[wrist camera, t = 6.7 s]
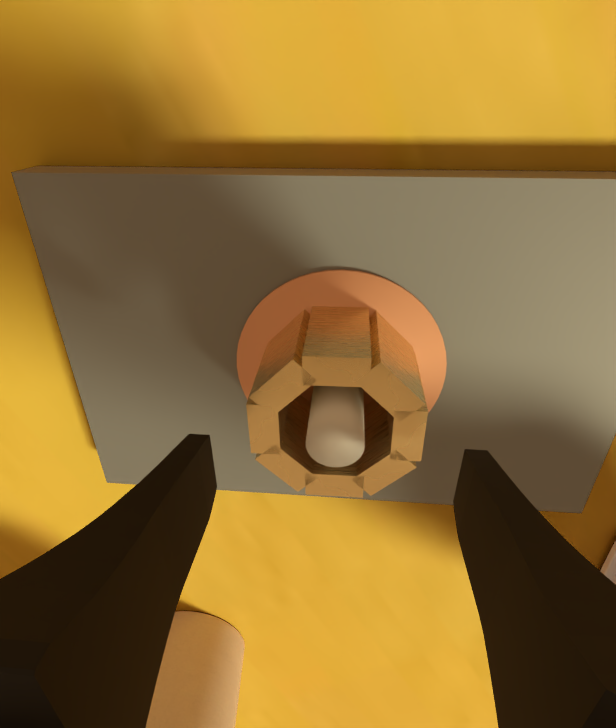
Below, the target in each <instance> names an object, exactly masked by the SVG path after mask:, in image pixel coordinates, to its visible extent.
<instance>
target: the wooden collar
mask: <svg viewBox="0 0 616 728" xmlns="http://www.w3.org/2000/svg"><path fill="white" fill-rule="evenodd" d="M311 385H313V386H341V387H361V388H362V389H364V390H365V391H366V392H367V393H368V394H369V395H370V396H371V397H372V398H374V400H373V401H371V402H370V403H368V404H367V405H366V406H364V436H365V448H364V452H363V454H362V456H361V457H360V458H359V459H358V460H357V461H356V462H354V463H353V464H351V465H348V466H344V467H329V466H325V465H322V464H320V463H318V462H317V461H315V460H314V459H313V458H312V457H311V456H310V455H309V453H308V451H307V449H306V436H307V429H308V422H309V415H310V408H311V403H310V402H309V401H307V400H306V399H305V398H304V397H303V396H302V395H300V394H301V393H303V392H304V391H305V390H306V389H307V388H309V387H310V386H311ZM246 409H247V418H248V428H249V438H250V448H251V453H257V454H256V458H255V460H256V461H258V462H259V463H260V464H262V465H263V466H264V467H266V468H267V469H268V470H270V471H271V472H272V473H274V474H275V475H276V476H278V477H279V478H280V479H281V480H283V481H284V482H285V483H287V484H288V485H289V486H291V487H292V488H293V489H295V490H296V491H297V492H298V491H300V490H301V489H303V488H304V487H305V493H306V495H322V496H340V497H357V498H363V490H364V491H365V492H367V493H368V494H369V495H370V496H371V495H373V494H375V493H376V492H378V491H380V490H381V489H383V488H384V487H386V486H388V485H389V484H391V483H392V482H394V481H396V480H397V479H399V478H400V477H402V476H404V475H405V474H407V473H409V472H410V471H412V470H413V469H415V468H417V467H416V461H421V458H422V451H423V444H424V437H425V430H426V423H427V416H428V409H427V404H426V400H425V395H424V391H423V386H422V382H421V377H420V373H419V368H418V364H417V359H416V354H415V353H414V350H413V346H412V345H411V344H410V343H408V342H407V341H406V340H405V339H404V338H403V337H402V336H401V335H400V334H399V333H398V332H397V331H396V330H395V329H394V328H393V327H392V326H391V325H390V324H389V323H388V322H387V321H386V320H385V319H384V318H383V317H382V316H381V315H380V314H379V313H378V312H377V311H375V312H374V313H373V314H372V315H370V316H369V307H327V306H312V309H311V314H309V313H308V312H307V311H306V310H305V309H304V310H303V311H302V312H301V313H300V314H299V315H297V316H296V317H295V318H294V319H293V320H292V321H291V322H290V323H289V324H288V325H287V326H285V327H284V328H283V329H282V330H281V331H280V332H279V333H278V334H277V335H276V336H275V337H274V338H272V339H271V340H270V341H269V342H268V344H267V347H266V349H265V351H264V354H263V357H262V360H261V363H260V366H259V369H258V372H257V374H256V377H255V380H254V383H253V386H252V389H251V392H250V395H249V397H248V400H247V403H246Z"/></svg>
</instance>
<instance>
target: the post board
mask: <svg viewBox="0 0 616 728" xmlns="http://www.w3.org/2000/svg"><path fill="white" fill-rule="evenodd" d="M11 173H12V176H13V179H14V182H15V186H16V189H17V192H18V195H19V199H20V202H21V205H22V208H23V212H24V215H25V218H26V221H27V225H28V228H29V231H30V234H31V238H32V241H33V244H34V247H35V251H36V254H37V257H38V260H39V264H40V267H41V270H42V273H43V277H44V280H45V283H46V286H47V290H48V293H49V296H50V299H51V303H52V306H53V309H54V312H55V315H56V319H57V322H58V325H59V328H60V332H61V335H62V338H63V341H64V345H65V348H66V351H67V354H68V358H69V361H70V364H71V367H72V371H73V374H74V377H75V380H76V384H77V387H78V390H79V393H80V397H81V400H82V403H83V406H84V410H85V413H86V416H87V419H88V423H89V426H90V429H91V432H92V436H93V439H94V442H95V445H96V449H97V452H98V455H99V458H100V461H101V465H102V468H103V471H104V474H105V478H106V481H107V483H122V484H138V483H139V482H140V481H141V480H142V479H143V478H144V477H145V476H146V475H148V474H149V473H150V472H151V471H152V470H153V469H154V468H155V467H156V466H157V465H158V464H159V463H160V462H161V461H162V460H163V459H164V458H165V457H166V456H167V455H168V454H169V453H170V452H171V451H172V450H173V449H174V448H175V447H176V446H177V445H178V444H179V443H180V442H181V441H182V440H183V439H184V438H185V437H186V436H187V435H188V434H205V435H210V440H211V447H212V454H213V461H214V468H215V475H216V482H217V489H216V490H230V491H245V492H261V493H276V494H291V495H306V493H305V487H304V488H303V489H301V490H300V491H298V492H297V491H296V490H295V489H293V488H292V487H291V486H289V485H288V484H287V483H285V482H284V481H283V480H281V479H280V478H279V477H278V476H276V475H275V474H274V473H272V472H271V471H270V470H268V469H267V468H266V467H264V466H263V465H262V464H260V463H259V462H258V461H256V460H255V458H256V454H257V453H251V448H250V438H249V428H248V418H247V409H246V403H247V400H248V397H249V395H250V392H251V389H252V386H253V383H254V380H255V377H256V374H257V372H258V369H259V366H260V363H261V360H262V357H263V354H264V351H265V349H266V347H267V344H268V342H269V341H270V340H271V339H272V338H274V337H275V336H276V335H277V334H278V333H279V332H280V331H281V330H282V329H283V328H284V327H285V326H287V325H288V324H289V323H290V322H291V321H292V320H293V319H294V318H295V317H296V316H297V315H299V314H300V313H301V312H302V311H303V310H304V309H305V310H306V311H307V312H308V313H309V314H311V309H312V306H327V307H369V316H370V315H372V314H373V313H374V312H375V311H377V312H378V313H379V314H380V315H381V316H382V317H383V318H384V319H385V320H386V321H387V322H388V323H389V324H390V325H391V326H392V327H393V328H394V329H395V330H396V331H397V332H398V333H399V334H400V335H401V336H402V337H403V338H404V339H405V340H406V341H407V342H408V343H410V344H411V345H412V346H413V350H414V353H415V354H416V359H417V364H418V368H419V373H420V377H421V382H422V386H423V391H424V395H425V400H426V404H427V409H428V416H427V423H426V430H425V437H424V444H423V451H422V458H421V461H416V467H417V468H415V469H413V470H412V471H410V472H409V473H407V474H405V475H404V476H402V477H400V478H399V479H397V480H396V481H394V482H392V483H391V484H389V485H388V486H386V487H384V488H383V489H381V490H380V491H378V492H376V493H375V494H373V495H371V496H370V495H369V494H368V493H367V492H365V491H364V490H363V498H357V497H340V496H322V495H307V496H322V497H338V498H353V499H368V500H384V501H399V502H415V503H430V504H445V505H453V499H454V495H455V490H456V486H457V481H458V477H459V472H460V468H461V463H462V459H463V454H464V450H465V449H474V450H488V452H489V453H490V454H491V455H492V456H493V458H494V459H495V460H496V461H497V462H498V464H499V465H500V466H501V467H502V469H503V470H504V471H505V472H506V474H507V475H508V476H509V477H510V479H511V480H512V481H513V482H514V483H515V485H516V486H517V487H518V488H519V489H520V491H521V492H522V493H523V494H524V495H525V496H526V498H527V499H528V500H529V501H530V502H531V503H532V504H533V506H534V507H535V508H536V509H537V510H538V511H553V512H568V513H582V511H583V509H584V506H585V504H586V502H587V499H588V497H589V495H590V492H591V490H592V488H593V485H594V483H595V481H596V478H597V476H598V474H599V471H600V469H601V467H602V464H603V462H604V460H605V457H606V455H607V453H608V450H609V448H610V446H611V443H612V441H613V439H614V436H615V434H616V171H516V170H415V169H314V168H212V167H111V166H35V167H31V168H27V169H23V170H19V171H15V172H11ZM300 395H302V396H303V397H304V398H305V399H306V400H307V401H309V402H310V403H311V408H310V415H309V422H308V429H307V436H306V449H307V451H308V453H309V455H310V456H311V457H312V458H313V459H314V460H315V461H317V462H318V463H320V464H322V465H325V466H329V467H344V466H348V465H351V464H353V463H354V462H356V461H357V460H358V459H359V458H360V457H361V456H362V454H363V452H364V448H365V436H364V406H366V405H367V404H368V403H370V402H371V401H373V400H374V398H372V397H371V396H370V395H369V394H368V393H367V392H366V391H365V390H364V389H362V388H361V387H341V386H313V385H311V386H310V387H309V388H307V389H306V390H305V391H304V392H303V393H301V394H300Z"/></svg>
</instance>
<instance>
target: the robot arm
mask: <svg viewBox="0 0 616 728" xmlns="http://www.w3.org/2000/svg"><path fill="white" fill-rule="evenodd" d="M216 489H217V482H216V475H215V468H214V461H213V454H212V447H211V440H210V435H205V434H188V435H187V436H186V437H185V438H184V439H183V440H182V441H181V442H180V443H179V444H178V445H177V446H176V447H175V448H174V449H173V450H172V451H171V452H170V453H169V454H168V455H167V456H166V457H165V458H164V459H163V460H162V461H161V462H160V463H159V464H158V465H157V466H156V467H155V468H154V469H153V470H152V471H151V472H150V473H149V474H148V475H146V476H145V477H144V478H143V479H142V480H141V481H140V482H139V483H138V484H137V485H136V486H135V487H134V488H132V489H131V490H130V491H129V492H128V493H127V494H125V495H124V496H123V497H122V498H121V499H120V500H119V501H117V502H116V503H115V504H114V505H113V506H112V507H110V508H109V509H108V510H107V511H105V512H104V513H103V514H102V515H100V516H99V517H98V518H96V519H95V520H94V521H92V522H91V523H90V524H88V525H87V526H85V527H84V528H83V529H81V530H80V531H78V532H77V533H76V534H74V535H73V536H71V537H70V538H68V539H66V540H65V541H63V542H62V543H60V544H59V545H57V546H56V547H54V548H53V549H51V550H49V551H48V552H46V553H45V554H43V555H42V556H40V557H38V558H37V559H35V560H33V561H31V562H30V563H28V564H26V565H25V566H23V567H21V568H19V569H17V570H16V571H14V572H12V573H10V574H8V575H6V576H5V577H3V578H1V579H0V728H146V724H147V719H148V715H149V711H150V707H151V703H152V698H153V694H154V690H155V686H156V682H157V678H158V674H159V670H160V666H161V662H162V658H163V654H164V650H165V647H166V643H167V639H168V635H169V632H170V628H171V625H172V621H173V617H174V614H175V610H176V607H177V604H178V601H179V598H180V595H181V592H182V589H183V586H184V584H185V581H186V579H187V576H188V573H189V571H190V568H191V566H192V563H193V560H194V558H195V555H196V553H197V550H198V547H199V545H200V542H201V540H202V537H203V534H204V532H205V529H206V526H207V524H208V521H209V518H210V514H211V510H212V506H213V502H214V498H215V494H216ZM453 505H454V513H455V520H456V527H457V533H458V538H459V542H460V546H461V550H462V554H463V557H464V561H465V565H466V568H467V572H468V576H469V579H470V583H471V587H472V590H473V594H474V598H475V601H476V605H477V609H478V612H479V616H480V620H481V625H482V629H483V634H484V639H485V645H486V651H487V657H488V663H489V668H490V674H491V681H492V687H493V694H494V700H495V706H496V713H497V720H498V727H499V728H616V541H615V543H614V545H613V547H612V549H611V551H610V552H609V554H608V556H607V558H606V560H605V562H604V564H603V566H602V568H601V570H600V571H599V570H598V569H597V568H596V567H595V566H594V565H592V564H591V563H590V562H589V561H588V560H587V559H586V558H585V557H584V556H582V555H581V554H580V553H579V552H578V551H577V550H576V549H575V548H574V547H573V546H572V545H571V544H569V543H568V542H567V541H566V540H565V539H564V538H563V537H562V536H561V535H560V534H559V532H558V531H557V530H556V529H555V528H554V527H553V526H552V525H551V524H550V523H549V522H548V521H547V520H546V519H545V518H544V517H543V516H542V515H541V513H540V512H539V511H538V510H537V509H536V508H535V507H534V506H533V504H532V503H531V502H530V501H529V500H528V499H527V498H526V496H525V495H524V494H523V493H522V492H521V491H520V489H519V488H518V487H517V486H516V485H515V483H514V482H513V481H512V480H511V479H510V477H509V476H508V475H507V474H506V472H505V471H504V470H503V469H502V467H501V466H500V465H499V464H498V462H497V461H496V460H495V459H494V458H493V456H492V455H491V454H490V453H489V452H488V450H474V449H465V450H464V454H463V459H462V463H461V468H460V472H459V477H458V481H457V486H456V490H455V495H454V499H453Z"/></svg>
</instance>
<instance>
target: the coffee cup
mask: <svg viewBox="0 0 616 728" xmlns="http://www.w3.org/2000/svg"><path fill="white" fill-rule="evenodd" d="M243 655H244V640H243V638H242V636H241V634H240V633H239V632H238V631H237V630H236V629H235V628H234V627H233V626H231V625H230V624H229V623H227V622H225V621H223V620H221V619H219V618H217V617H214V616H212V615H208V614H205V613H200V612H193V611H177V612H175V614H174V617H173V621H172V625H171V628H170V632H169V635H168V639H167V643H166V647H165V650H164V654H163V658H162V662H161V666H160V670H159V674H158V678H157V682H156V686H155V690H154V694H153V698H152V703H151V707H150V711H149V715H148V719H147V724H146V728H235V722H236V714H237V705H238V697H239V689H240V680H241V672H242V664H243Z"/></svg>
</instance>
